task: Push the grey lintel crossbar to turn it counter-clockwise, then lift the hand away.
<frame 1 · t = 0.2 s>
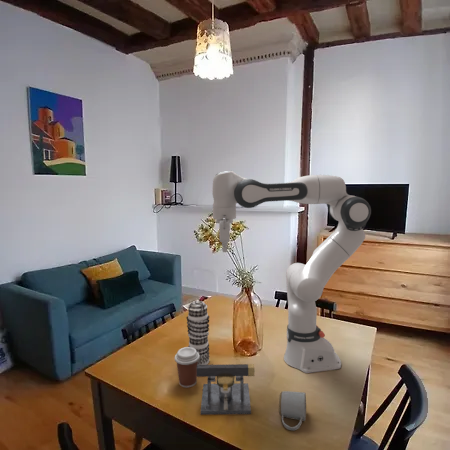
hand: (225, 249, 128), 47 cm above the table, fingers open, 8 cm apart
coffee cup: (188, 382, 121), on the table
grey lintel crossbar: (225, 374, 110), point 9 cm above the table, hinge at 0.0°
grey ridged column: (199, 361, 135), on the table
post base: (225, 399, 111), on the table
ceramic mug: (293, 419, 102), on the table
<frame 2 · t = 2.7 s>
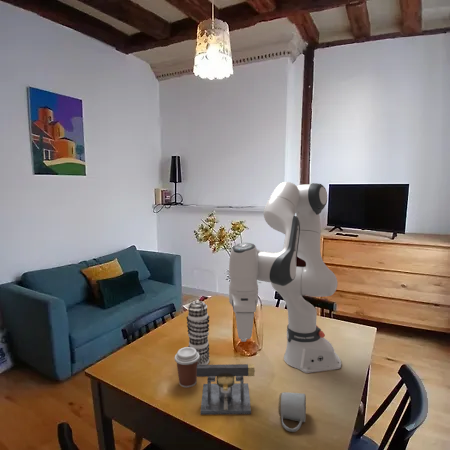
hand: (243, 339, 102), 24 cm above the table, fingers closed
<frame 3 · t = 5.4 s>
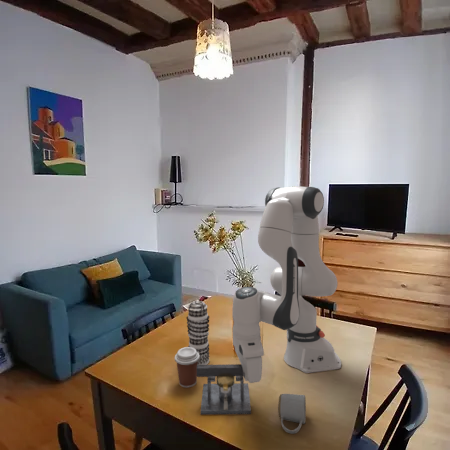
hand: (246, 378, 107), 10 cm above the table, fingers closed
grey lintel crossbar: (225, 374, 110), point 9 cm above the table, hinge at 0.5°, touching gripper
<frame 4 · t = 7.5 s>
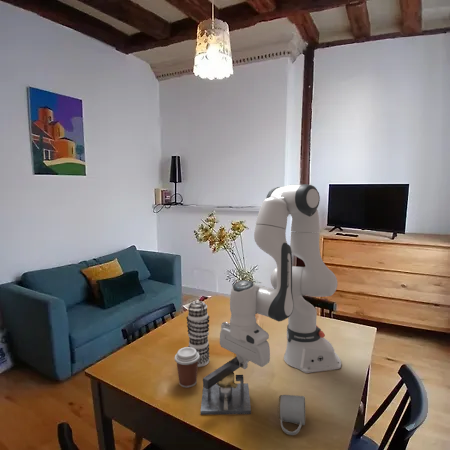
hand: (243, 367, 113), 10 cm above the table, fingers closed
grey lintel crossbar: (225, 374, 110), point 9 cm above the table, hinge at 48.7°, touching gripper
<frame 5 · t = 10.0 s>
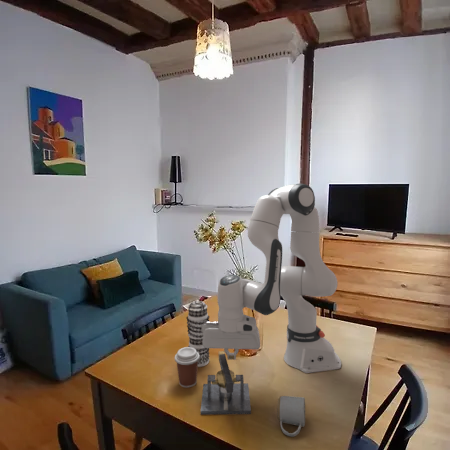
hand: (231, 358, 116), 11 cm above the table, fingers closed
grey lintel crossbar: (225, 374, 110), point 9 cm above the table, hinge at 98.8°
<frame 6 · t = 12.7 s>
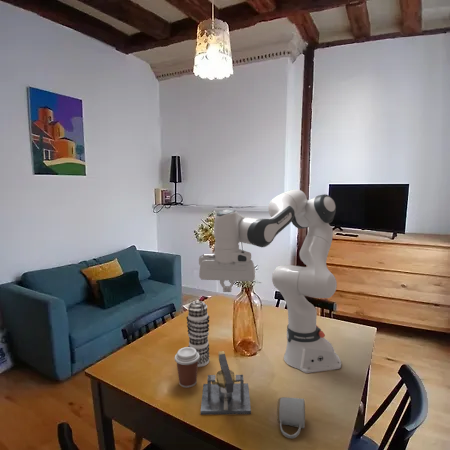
hand: (227, 291, 120), 33 cm above the table, fingers closed
at the end: grey lintel crossbar at +99° (first picture: +0°); the gripper is holding nothing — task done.
